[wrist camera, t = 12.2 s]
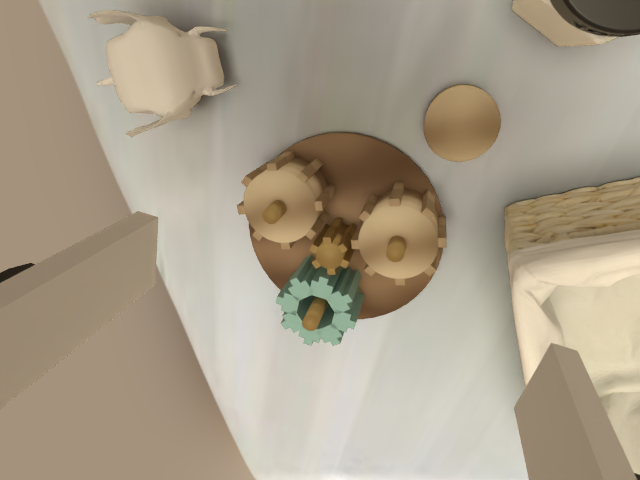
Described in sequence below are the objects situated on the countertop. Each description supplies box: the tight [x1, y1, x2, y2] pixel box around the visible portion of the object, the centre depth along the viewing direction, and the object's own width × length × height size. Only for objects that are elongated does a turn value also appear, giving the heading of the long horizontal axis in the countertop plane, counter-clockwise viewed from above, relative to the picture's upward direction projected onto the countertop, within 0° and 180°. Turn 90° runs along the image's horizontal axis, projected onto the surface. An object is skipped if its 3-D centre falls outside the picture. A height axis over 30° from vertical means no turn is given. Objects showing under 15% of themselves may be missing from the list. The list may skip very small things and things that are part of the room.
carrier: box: [237, 132, 446, 331], centre depth 39 cm, size 19×19×8 cm
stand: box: [424, 84, 501, 162], centre depth 34 cm, size 6×6×3 cm
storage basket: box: [504, 177, 640, 475], centre depth 32 cm, size 24×16×15 cm
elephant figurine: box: [88, 10, 238, 137], centre depth 36 cm, size 10×12×9 cm
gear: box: [276, 254, 364, 346], centre depth 42 cm, size 8×8×5 cm
